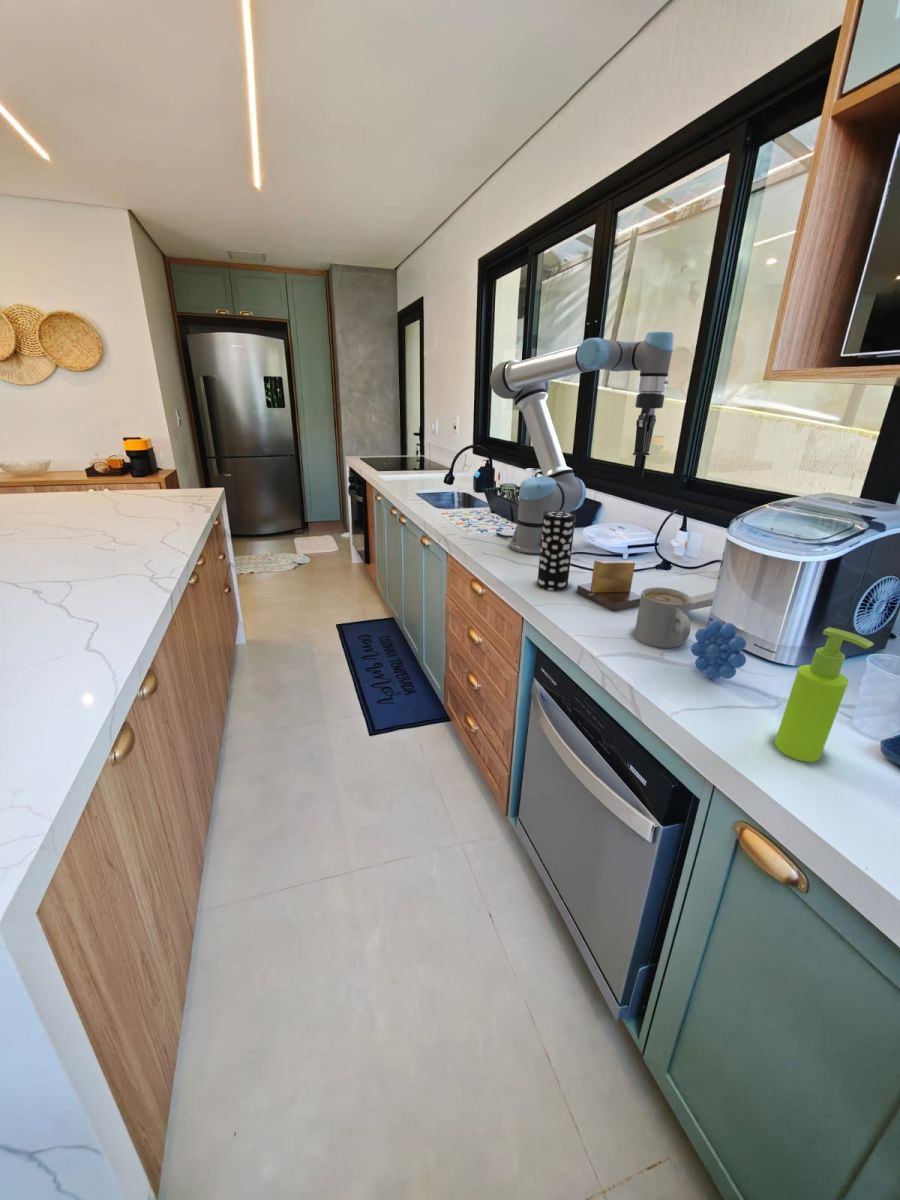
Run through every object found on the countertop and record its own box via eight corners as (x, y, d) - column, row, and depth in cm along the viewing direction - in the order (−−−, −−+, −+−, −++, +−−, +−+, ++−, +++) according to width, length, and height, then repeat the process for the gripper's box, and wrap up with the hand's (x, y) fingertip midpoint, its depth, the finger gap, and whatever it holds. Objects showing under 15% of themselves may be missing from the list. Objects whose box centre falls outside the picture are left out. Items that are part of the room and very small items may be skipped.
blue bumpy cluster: (754, 691, 92) (771, 632, 87) (724, 696, 90) (740, 636, 85) (706, 660, 102) (720, 606, 97) (678, 665, 100) (691, 609, 95)
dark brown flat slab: (649, 603, 129) (651, 595, 128) (607, 612, 123) (608, 604, 122) (610, 585, 141) (611, 578, 140) (570, 593, 135) (571, 585, 134)
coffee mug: (628, 627, 116) (635, 586, 112) (671, 628, 116) (679, 587, 112) (649, 655, 103) (658, 611, 99) (697, 656, 103) (708, 612, 100)
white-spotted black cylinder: (535, 588, 138) (541, 516, 130) (539, 578, 145) (545, 509, 137) (566, 592, 135) (574, 519, 128) (568, 582, 143) (576, 512, 135)
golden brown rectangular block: (627, 589, 133) (632, 559, 129) (630, 592, 131) (635, 561, 128) (590, 589, 132) (594, 559, 129) (592, 592, 130) (597, 562, 127)
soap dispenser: (818, 771, 72) (865, 647, 64) (767, 745, 77) (805, 628, 70) (834, 756, 75) (880, 636, 68) (784, 732, 80) (822, 618, 73)
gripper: (659, 393, 136) (644, 481, 145) (669, 393, 146) (655, 476, 155) (631, 392, 140) (618, 478, 149) (643, 393, 150) (630, 473, 159)
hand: (637, 477), depth 152 cm, fingers closed
